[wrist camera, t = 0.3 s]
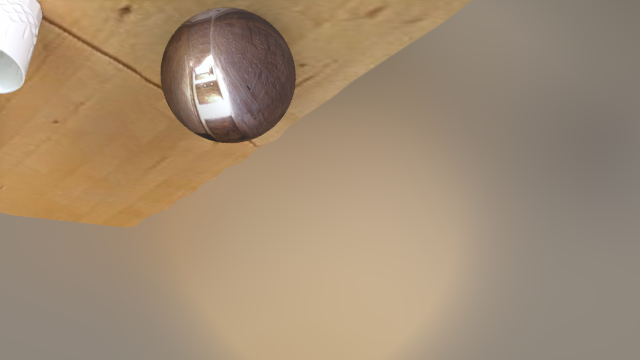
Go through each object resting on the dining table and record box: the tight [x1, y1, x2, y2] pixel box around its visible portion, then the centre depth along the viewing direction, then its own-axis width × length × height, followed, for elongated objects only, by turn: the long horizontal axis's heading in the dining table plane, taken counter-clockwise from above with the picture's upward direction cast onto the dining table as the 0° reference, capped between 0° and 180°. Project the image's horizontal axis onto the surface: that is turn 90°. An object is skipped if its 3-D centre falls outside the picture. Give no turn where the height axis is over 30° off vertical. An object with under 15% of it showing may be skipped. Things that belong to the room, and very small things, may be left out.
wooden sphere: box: [161, 8, 296, 143], centre depth 65 cm, size 15×15×15 cm
